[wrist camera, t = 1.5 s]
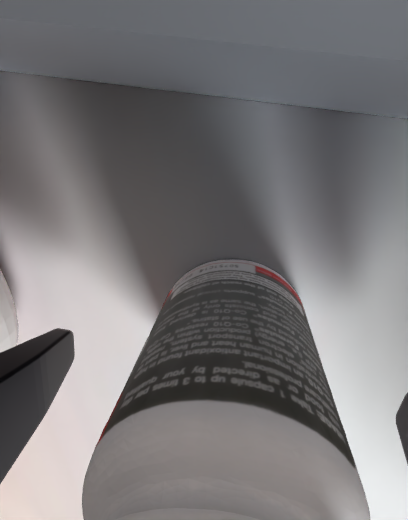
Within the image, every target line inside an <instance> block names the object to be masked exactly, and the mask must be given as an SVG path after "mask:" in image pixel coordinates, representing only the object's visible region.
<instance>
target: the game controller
mask: <svg viewBox="0 0 408 520" xmlns="http://www.w3.org/2000/svg"><path fill="white" fill-rule="evenodd" d="M18 326H19V325H18V319H17V312H16V308H15V304H14V301H13V298H12V294H11V291H10V289H9V287H8V285H7V282H6V280H5V278H4V275H3V273H2V271H1V269H0V353H1V352H3V351H5V350H8V349H10V348H12V347H15V346H17V342H18Z"/></svg>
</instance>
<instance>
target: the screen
mask: <svg viewBox="0 0 408 520" xmlns="http://www.w3.org/2000/svg"><path fill="white" fill-rule="evenodd" d="M0 71H7V72H16V73H24V74H33V75H41V76H49V77H58V78H66V79H75V80H83V81H92V82H100V83H109V84H117V85H125V86H134V87H142V88H151V89H159V90H168V91H176V92H184V93H193V94H201V95H210V96H218V97H227V98H235V99H244V100H252V101H260V102H269V103H277V104H286V105H294V106H303V107H311V108H320V109H328V110H336V111H345V112H353V113H362V114H370V115H379V116H387V117H396V118H404V119H408V0H0Z"/></svg>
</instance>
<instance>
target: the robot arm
mask: <svg viewBox="0 0 408 520" xmlns="http://www.w3.org/2000/svg"><path fill="white" fill-rule="evenodd" d="M73 360H74V336H73V332H72V331H70V330H66V329H60V328H57V329H54V330H52V331H50V332H47V333H45V334H43V335H40V336H38V337H36V338H33V339H31V340H29V341H26V342H24V343H22V344H19V345H17V346H15V347H12V348H10V349H8V350H5V351H3V352H1V353H0V484H1V482H2V481H3V479H4V478H5V476H6V474H7V473H8V471H9V470H10V468H11V467H12V465H13V464H14V462H15V461H16V459H17V458H18V456H19V455H20V453H21V451H22V450H23V448H24V447H25V445H26V444H27V442H28V441H29V439H30V438H31V436H32V435H33V433H34V432H35V430H36V429H37V427H38V425H39V424H40V422H41V421H42V419H43V418H44V416H45V414H46V413H47V411H48V409H49V407H50V405H51V403H52V401H53V400H54V398H55V396H56V394H57V392H58V390H59V388H60V386H61V384H62V382H63V380H64V378H65V376H66V374H67V372H68V371H69V369H70V367H71V365H72V363H73ZM396 425H397V428H398V432H399V435H400V439H401V443H402V446H403V450H404V453H405V457H406V460H407V464H408V393H407V394H406V395H405V397H404V399H403V401H402V403H401V406H400V408H399V410H398V412H397V414H396Z"/></svg>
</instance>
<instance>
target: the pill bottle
mask: <svg viewBox="0 0 408 520" xmlns="http://www.w3.org/2000/svg"><path fill="white" fill-rule="evenodd" d="M82 509H83V517H84V520H370V512H369V507H368V503H367V500H366V496H365V492H364V489H363V486H362V483H361V480H360V477H359V474H358V471H357V468H356V465H355V462H354V458H353V456H352V453H351V450H350V447H349V445H348V441H347V438H346V434H345V431H344V429H343V426H342V423H341V420H340V417H339V414H338V411H337V408H336V405H335V402H334V399H333V396H332V393H331V390H330V387H329V384H328V381H327V378H326V375H325V372H324V369H323V366H322V363H321V360H320V357H319V354H318V351H317V348H316V345H315V342H314V339H313V336H312V333H311V329H310V326H309V323H308V320H307V317H306V313H305V310H304V307H303V304H302V302H301V300H300V298H299V296H298V294H297V293H296V291H295V290H294V288H293V287H292V286H291V285H290V284H289V283H288V282H287V281H286V280H285V279H284V278H283V277H282V276H281V275H279V274H278V273H277V272H275V271H274V270H272V269H270V268H268V267H266V266H264V265H261V264H259V263H255V262H252V261H247V260H238V259H227V260H217V261H212V262H208V263H205V264H202V265H200V266H197V267H195V268H194V269H192V270H190V271H189V272H187V273H186V274H185V275H184V276H182V277H181V278H180V279H179V280H178V281H177V282H176V284H175V285H174V286H173V288H172V289H171V291H170V293H169V294H168V296H167V298H166V300H165V302H164V304H163V307H162V309H161V311H160V313H159V315H158V317H157V320H156V322H155V324H154V326H153V328H152V330H151V332H150V335H149V337H148V338H147V340H146V342H145V345H144V347H143V349H142V351H141V353H140V355H139V357H138V359H137V361H136V363H135V366H134V368H133V370H132V372H131V374H130V376H129V378H128V381H127V383H126V385H125V387H124V389H123V391H122V393H121V395H120V397H119V399H118V401H117V403H116V406H115V408H114V410H113V412H112V414H111V416H110V418H109V420H108V422H107V424H106V426H105V427H104V429H103V432H102V434H101V436H100V439H99V441H98V443H97V445H96V447H95V450H94V452H93V455H92V458H91V460H90V463H89V466H88V469H87V472H86V475H85V479H84V485H83V494H82Z"/></svg>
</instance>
